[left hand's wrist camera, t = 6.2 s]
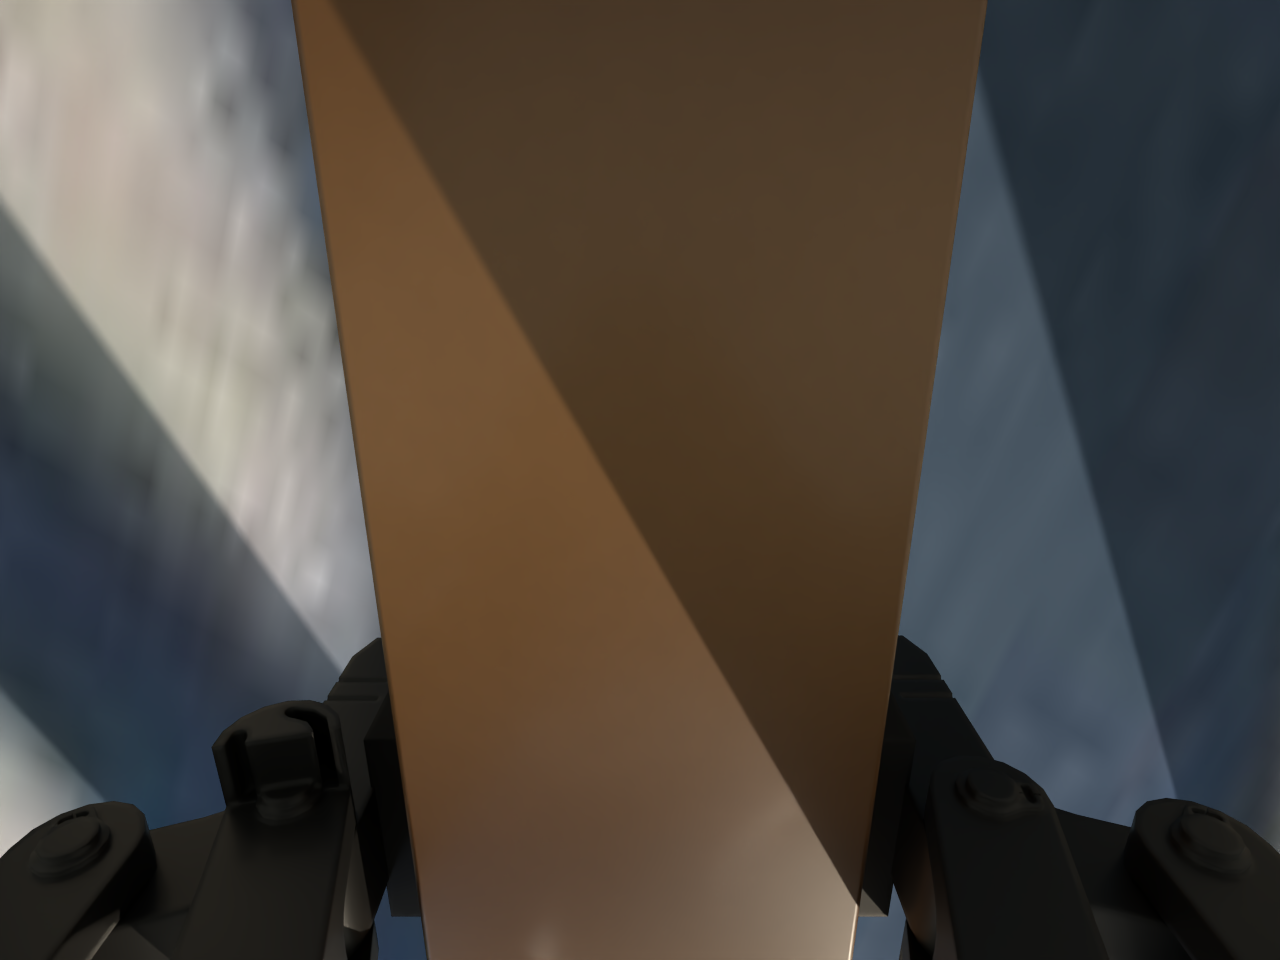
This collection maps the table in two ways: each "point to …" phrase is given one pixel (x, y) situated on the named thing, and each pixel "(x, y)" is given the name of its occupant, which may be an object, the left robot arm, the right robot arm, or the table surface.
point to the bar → (639, 441)
